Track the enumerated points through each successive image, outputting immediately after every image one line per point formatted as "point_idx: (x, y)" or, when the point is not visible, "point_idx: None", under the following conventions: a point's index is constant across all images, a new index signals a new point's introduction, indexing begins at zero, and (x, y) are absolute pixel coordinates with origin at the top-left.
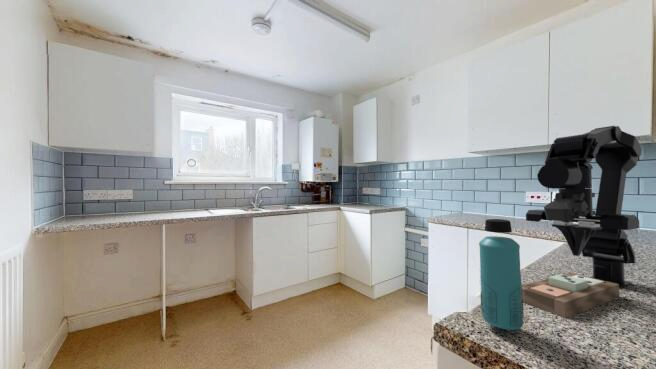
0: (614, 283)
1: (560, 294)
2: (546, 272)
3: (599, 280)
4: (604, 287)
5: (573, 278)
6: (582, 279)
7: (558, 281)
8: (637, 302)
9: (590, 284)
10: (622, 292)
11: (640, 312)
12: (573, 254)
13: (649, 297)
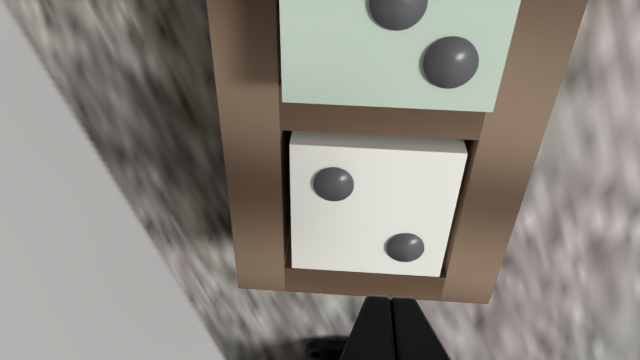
0: (255, 282)
1: None
2: (630, 341)
3: (312, 266)
4: (238, 166)
5: (372, 66)
6: (317, 98)
7: None
8: (184, 225)
9: (302, 144)
10: (281, 304)
11: (95, 92)
12: (409, 297)
13: (202, 318)
